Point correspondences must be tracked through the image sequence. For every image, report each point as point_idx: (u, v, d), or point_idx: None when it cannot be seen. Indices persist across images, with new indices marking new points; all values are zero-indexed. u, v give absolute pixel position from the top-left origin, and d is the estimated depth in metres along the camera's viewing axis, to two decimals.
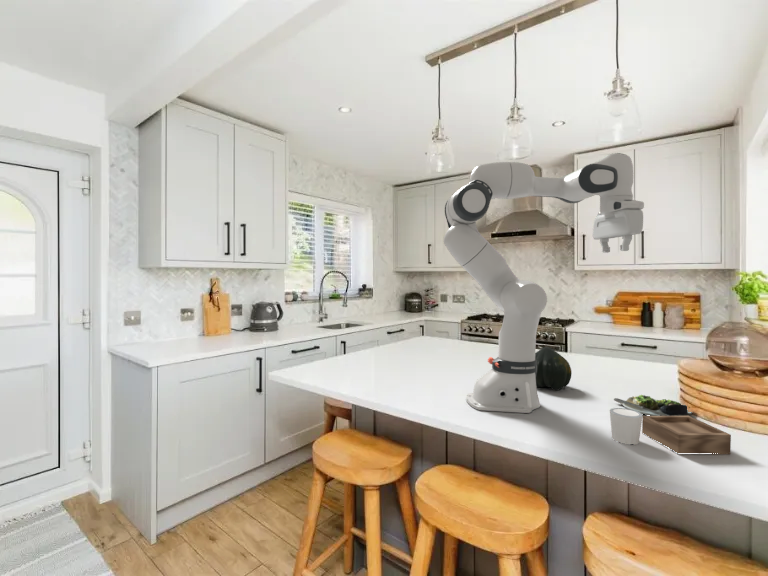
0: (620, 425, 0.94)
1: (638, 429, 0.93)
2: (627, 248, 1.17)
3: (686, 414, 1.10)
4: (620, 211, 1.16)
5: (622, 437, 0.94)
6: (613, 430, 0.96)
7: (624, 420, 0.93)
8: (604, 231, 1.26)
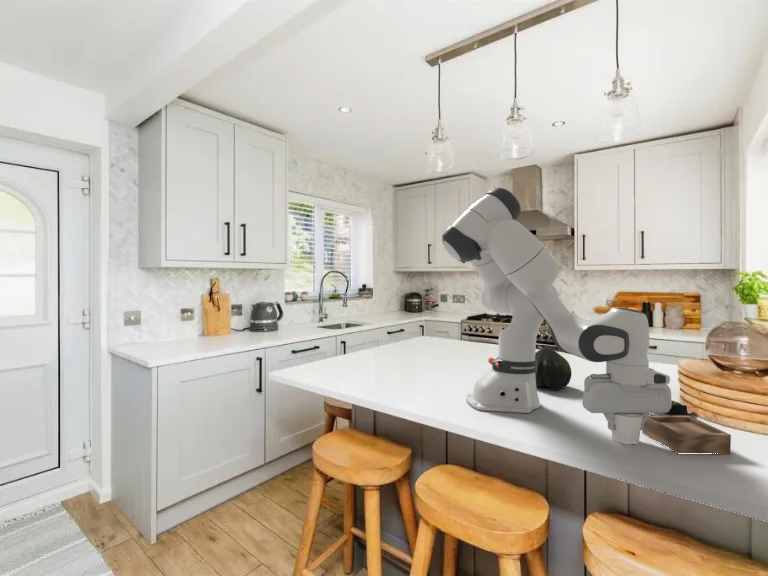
0: (620, 425, 0.94)
1: (638, 429, 0.93)
2: None
3: (686, 414, 1.10)
4: (660, 386, 0.93)
5: (622, 437, 0.94)
6: (613, 430, 0.96)
7: (624, 420, 0.93)
8: (618, 405, 0.94)
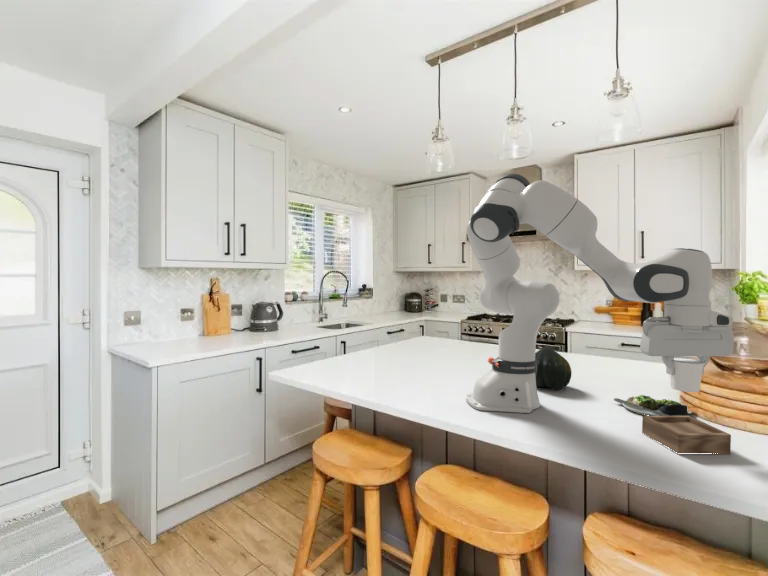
0: (680, 372, 0.92)
1: (699, 376, 0.91)
2: None
3: (686, 414, 1.10)
4: (723, 327, 0.91)
5: (682, 384, 0.92)
6: (672, 378, 0.94)
7: (684, 366, 0.91)
8: (679, 348, 0.92)
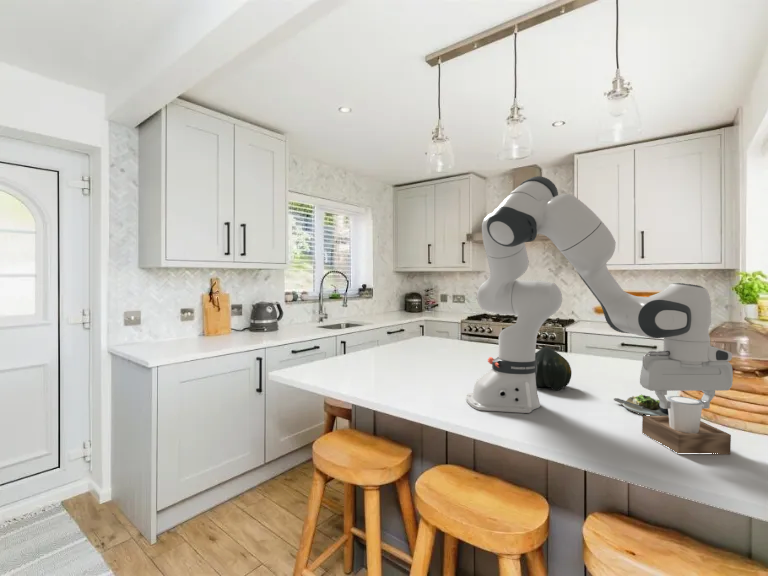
0: (679, 413, 0.93)
1: (698, 417, 0.92)
2: None
3: None
4: (722, 363, 0.91)
5: (681, 425, 0.93)
6: (671, 418, 0.95)
7: (684, 408, 0.92)
8: (678, 383, 0.92)
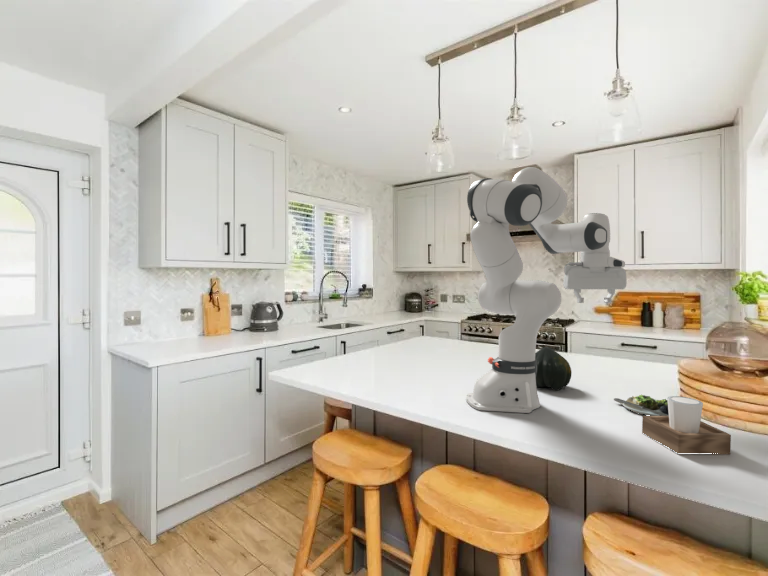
0: (679, 413, 0.93)
1: (699, 417, 0.92)
2: None
3: None
4: (618, 268, 1.31)
5: (681, 425, 0.93)
6: (671, 418, 0.95)
7: (684, 408, 0.92)
8: (588, 283, 1.31)
